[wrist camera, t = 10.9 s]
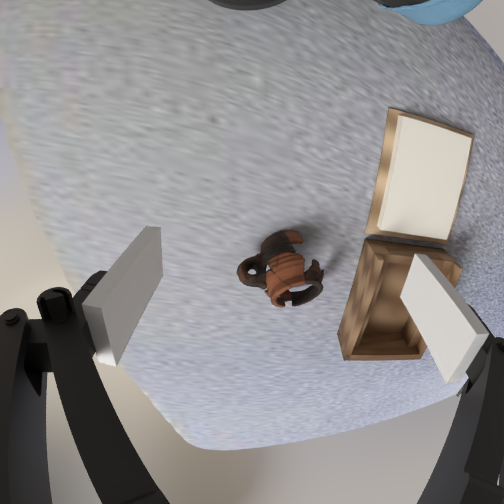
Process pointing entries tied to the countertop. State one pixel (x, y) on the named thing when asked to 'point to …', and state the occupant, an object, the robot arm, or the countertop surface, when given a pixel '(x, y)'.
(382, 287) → the walnut box
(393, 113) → the cork mat
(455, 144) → the cover plate
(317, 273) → the pottery mug
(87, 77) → the countertop surface
